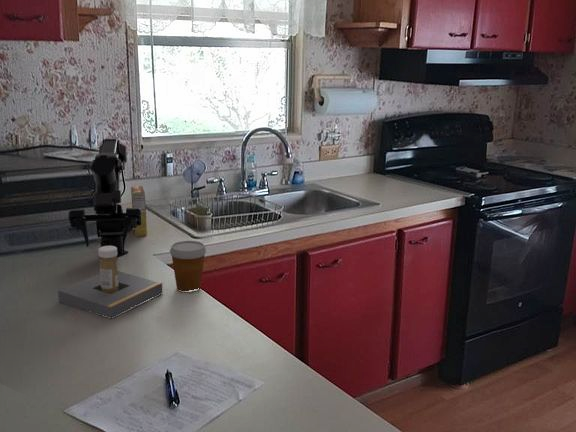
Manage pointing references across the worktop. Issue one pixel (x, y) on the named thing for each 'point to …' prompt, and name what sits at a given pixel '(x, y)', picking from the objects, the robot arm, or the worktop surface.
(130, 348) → the worktop surface
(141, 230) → the candy box
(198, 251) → the disposable coffee cup
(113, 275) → the amber pill bottle
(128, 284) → the socket plate
